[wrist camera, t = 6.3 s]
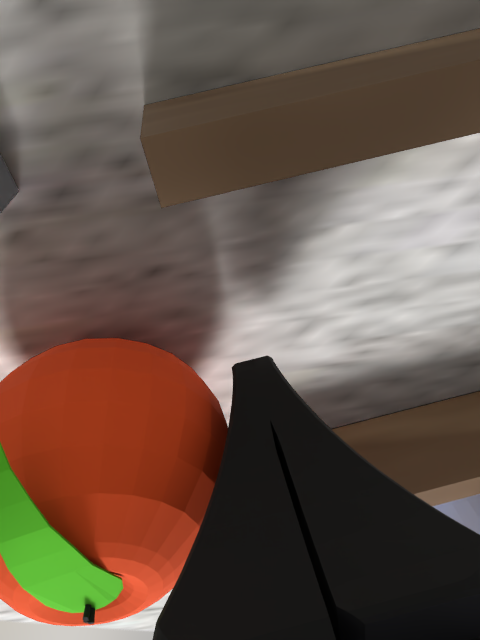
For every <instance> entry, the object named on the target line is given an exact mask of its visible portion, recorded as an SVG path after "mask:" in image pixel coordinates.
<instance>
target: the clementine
mask: <svg viewBox="0 0 480 640" xmlns="http://www.w3.org/2000/svg"><path fill="white" fill-rule="evenodd" d="M227 433H228V426H227V423H226V420H225V418H224V415H223V412H222V409H221V407H220V404H219V401H218V400H217V398H216V397H215V396H214V394H213V393H212V392H211V390H210V389H209V388H208V386H207V385H206V384H205V382H204V381H203V380H202V379H201V378H200V377H199V376H198V375H197V373H196V372H195V371H194V370H193V369H192V368H191V367H190V366H188V365H187V364H186V363H184V362H183V361H181V360H180V359H179V358H177V357H176V356H175V355H173V354H172V353H169V352H167V351H164V350H162V349H160V348H157V347H155V346H152V345H150V344H147V343H143V342H137V341H131V340H125V339H120V338H99V339H83V340H79V341H75V342H70V343H66V344H62V345H58V346H55V347H53V348H51V349H49V350H47V351H45V352H43V353H41V354H39V355H37V356H35V357H33V358H31V359H30V360H28V361H27V362H25V363H24V364H22V365H21V366H19V367H18V368H17V369H15V370H14V371H12V372H11V373H10V374H9V375H8V376H6V377H5V378H4V379H3V380H2V381H1V382H0V599H1V600H3V601H4V602H5V603H6V604H8V605H9V606H10V607H11V608H13V609H14V610H15V611H17V612H19V613H20V614H22V615H24V616H27V617H29V618H31V619H34V620H36V621H39V622H43V623H48V624H53V625H64V626H85V625H95V624H102V623H108V622H112V621H116V620H119V619H123V618H126V617H128V616H131V615H133V614H136V613H138V612H140V611H142V610H143V609H145V608H147V607H148V606H150V605H152V604H153V603H155V602H157V601H158V600H160V599H161V598H162V597H163V596H164V595H166V594H167V593H168V592H169V591H170V590H171V589H173V588H174V586H175V584H176V582H177V580H178V578H179V575H180V573H181V571H182V569H183V567H184V564H185V562H186V560H187V557H188V555H189V553H190V550H191V548H192V545H193V543H194V541H195V538H196V536H197V534H198V531H199V529H200V526H201V523H202V521H203V518H204V515H205V513H206V510H207V507H208V504H209V501H210V498H211V495H212V492H213V489H214V485H215V482H216V479H217V475H218V472H219V468H220V464H221V460H222V456H223V452H224V447H225V442H226V437H227Z"/></svg>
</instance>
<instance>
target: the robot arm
mask: <svg viewBox="0 0 480 640" xmlns="http://www.w3.org/2000/svg"><path fill="white" fill-rule="evenodd" d="M232 372H233V395H232V406H231V413H230V421H229V427H228V433H227V437H226V442H225V447H224V452H223V456H222V460H221V464H220V468H219V472H218V475H217V479H216V482H215V485H214V489H213V492H212V495H211V498H210V501H209V504H208V507H207V510H206V513H205V515H204V518H203V521H202V523H201V526H200V529H199V531H198V534H197V536H196V538H195V541H194V543H193V545H192V548H191V550H190V553H189V555H188V557H187V560H186V562H185V564H184V567H183V569H182V571H181V573H180V575H179V578H178V580H177V582H176V584H175V586H174V588H173V590H172V592H171V594H170V596H169V598H168V600H167V602H166V604H165V606H164V608H163V610H162V612H161V614H160V616H159V618H158V620H157V622H156V626H155V631H154V636H153V640H480V494H477V495H473V496H470V497H466V498H462V499H458V500H455V501H451V502H447V503H443V504H440V505H436V506H431V505H429V504H428V503H426V502H425V501H423V500H422V499H420V498H418V497H417V496H415V495H414V494H412V493H411V492H409V491H408V490H407V489H405V488H404V487H402V486H401V485H400V484H398V483H397V482H395V481H394V480H393V479H391V478H390V477H388V476H387V475H386V474H384V473H383V472H381V471H380V470H379V469H377V468H376V467H375V466H373V465H372V464H371V463H370V462H368V461H367V460H366V459H365V458H363V457H362V456H361V455H360V454H358V453H357V452H356V451H355V450H354V449H353V448H351V447H350V446H349V445H348V444H347V443H346V442H344V441H343V440H342V439H341V438H340V437H339V436H338V435H337V434H336V433H335V432H334V431H332V430H331V429H330V428H329V427H328V426H327V425H326V424H325V423H324V422H323V421H322V420H321V419H320V418H319V417H318V416H317V415H316V414H315V413H314V412H313V410H312V409H311V408H310V407H309V406H308V405H307V404H306V403H305V402H304V400H303V399H302V398H301V397H300V396H299V395H298V394H297V393H296V391H295V390H294V389H293V388H292V386H291V385H290V384H289V383H288V381H287V380H286V379H285V377H284V376H283V375H282V373H281V372H280V370H279V369H278V367H277V366H276V364H275V363H274V361H273V359H272V358H271V357H269V356H264V357H260V358H256V359H252V360H248V361H244V362H240V363H236V364H235V365H234V366H233V367H232Z"/></svg>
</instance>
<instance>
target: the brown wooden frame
mask: <svg viewBox="0 0 480 640" xmlns="http://www.w3.org/2000/svg"><path fill="white" fill-rule="evenodd" d="M476 133H480V29H475V30H471V31H466V32H462V33H458V34H453V35H449V36H445V37H440V38H436V39H431V40H427V41H423V42H418V43H414V44H410V45H405V46H401V47H397V48H392V49H388V50H383V51H379V52H375V53H370V54H366V55H362V56H357V57H353V58H348V59H344V60H340V61H335V62H331V63H327V64H322V65H318V66H314V67H309V68H305V69H300V70H296V71H292V72H287V73H283V74H279V75H274V76H270V77H265V78H261V79H257V80H252V81H248V82H244V83H239V84H235V85H230V86H226V87H222V88H217V89H213V90H209V91H204V92H200V93H196V94H191V95H187V96H182V97H178V98H174V99H169V100H165V101H161V102H156V103H152V104H147V105H144V110H143V119H142V127H141V135H140V139H141V143H142V146H143V149H144V153H145V156H146V159H147V162H148V166H149V169H150V172H151V176H152V179H153V182H154V186H155V189H156V192H157V196H158V199H159V202H160V205H161V208H164V207H168V206H172V205H176V204H181V203H185V202H189V201H193V200H197V199H202V198H206V197H210V196H214V195H219V194H223V193H227V192H231V191H235V190H240V189H244V188H248V187H252V186H256V185H261V184H265V183H269V182H273V181H278V180H282V179H286V178H290V177H294V176H299V175H303V174H307V173H311V172H316V171H320V170H324V169H328V168H332V167H337V166H341V165H345V164H349V163H353V162H358V161H362V160H366V159H370V158H375V157H379V156H383V155H387V154H391V153H396V152H400V151H404V150H408V149H413V148H417V147H421V146H425V145H429V144H434V143H438V142H442V141H446V140H450V139H455V138H459V137H463V136H467V135H472V134H476ZM331 430H332V431H334V432H335V433H336V434H337V435H338V436H339V437H340V438H341V439H342V440H343V441H344V442H346V443H347V444H348V445H349V446H350V447H351V448H353V449H354V450H355V451H356V452H357V453H358V454H360V455H361V456H362V457H363V458H365V459H366V460H367V461H368V462H370V463H371V464H372V465H373V466H375V467H376V468H377V469H379V470H380V471H381V472H383V473H384V474H386V475H387V476H388V477H390V478H391V479H393V480H394V481H395V482H397V483H398V484H400V485H401V486H402V487H404V488H405V489H407V490H408V491H409V492H411V493H412V494H414V495H415V496H417V497H418V498H420V499H422V500H423V501H425V502H426V503H428V504H429V505H431V506H436V505H440V504H443V503H447V502H451V501H455V500H458V499H462V498H466V497H470V496H473V495H477V494H480V391H479V392H475V393H471V394H467V395H463V396H459V397H455V398H451V399H447V400H444V401H440V402H436V403H432V404H428V405H424V406H420V407H416V408H413V409H409V410H405V411H401V412H397V413H393V414H389V415H385V416H381V417H378V418H374V419H370V420H366V421H362V422H358V423H354V424H350V425H347V426H343V427H339V428H335V429H331Z"/></svg>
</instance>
